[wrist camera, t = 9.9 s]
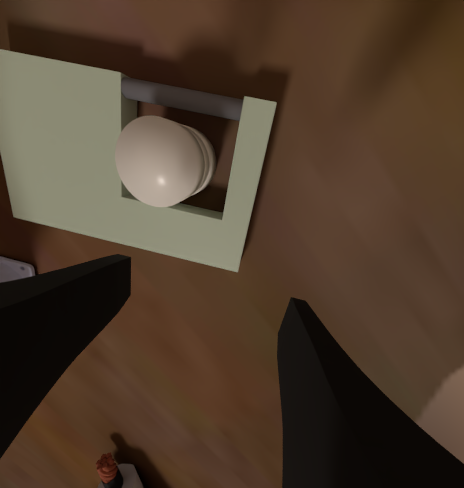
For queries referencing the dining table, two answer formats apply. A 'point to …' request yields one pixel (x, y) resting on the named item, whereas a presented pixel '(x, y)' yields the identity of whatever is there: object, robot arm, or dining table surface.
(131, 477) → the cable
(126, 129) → the white round knob
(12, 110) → the pale green panel
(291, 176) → the dining table surface
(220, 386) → the dining table surface
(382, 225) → the dining table surface
